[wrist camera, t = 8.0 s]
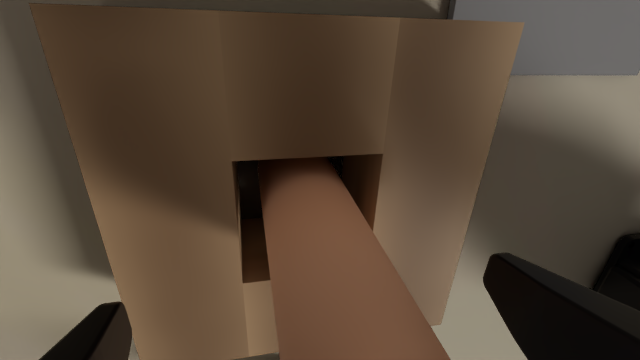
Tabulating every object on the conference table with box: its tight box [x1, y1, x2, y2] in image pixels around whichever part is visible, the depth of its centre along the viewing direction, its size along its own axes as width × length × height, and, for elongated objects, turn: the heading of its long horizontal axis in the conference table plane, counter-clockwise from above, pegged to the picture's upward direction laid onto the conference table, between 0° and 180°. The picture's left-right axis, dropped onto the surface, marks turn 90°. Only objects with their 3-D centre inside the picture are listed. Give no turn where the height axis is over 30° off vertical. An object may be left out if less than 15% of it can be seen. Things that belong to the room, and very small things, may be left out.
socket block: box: [29, 3, 525, 360], centre depth 13 cm, size 12×12×4 cm
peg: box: [258, 157, 450, 360], centre depth 10 cm, size 3×3×10 cm
